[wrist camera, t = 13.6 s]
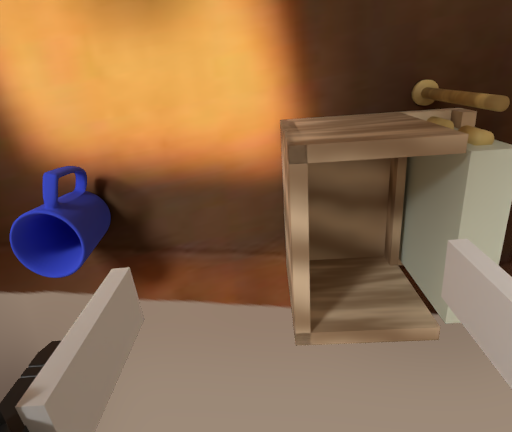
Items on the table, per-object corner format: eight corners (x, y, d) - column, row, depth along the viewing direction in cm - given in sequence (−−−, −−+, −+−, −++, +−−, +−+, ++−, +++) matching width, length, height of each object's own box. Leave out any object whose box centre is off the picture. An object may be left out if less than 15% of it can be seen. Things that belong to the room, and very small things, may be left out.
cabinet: (278, 90, 43) (286, 101, 28) (462, 76, 42) (572, 81, 27) (286, 265, 51) (295, 345, 36) (438, 257, 50) (512, 336, 35)
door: (408, 115, 42) (473, 136, 29) (453, 112, 42) (538, 132, 29) (396, 255, 49) (445, 323, 36) (435, 253, 48) (497, 321, 35)
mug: (121, 160, 46) (85, 183, 37) (117, 244, 51) (85, 283, 41) (55, 148, 46) (2, 169, 36) (58, 234, 50) (11, 272, 41)
